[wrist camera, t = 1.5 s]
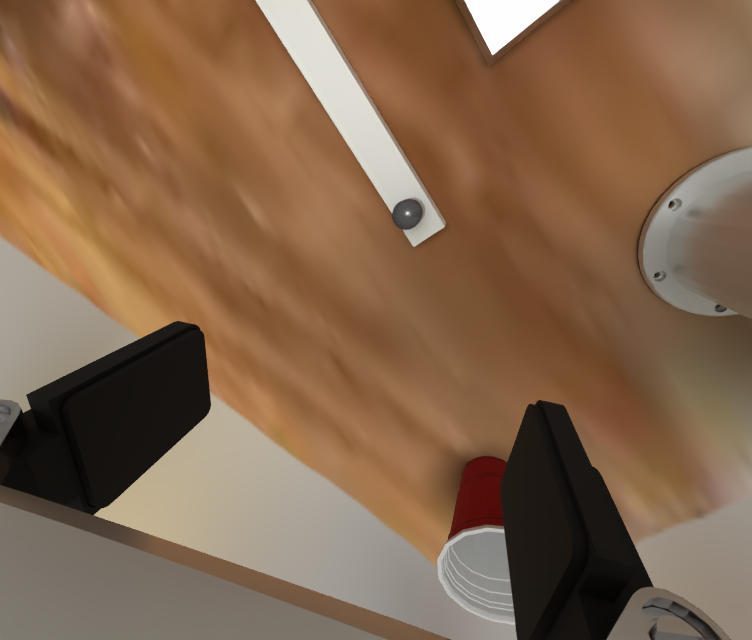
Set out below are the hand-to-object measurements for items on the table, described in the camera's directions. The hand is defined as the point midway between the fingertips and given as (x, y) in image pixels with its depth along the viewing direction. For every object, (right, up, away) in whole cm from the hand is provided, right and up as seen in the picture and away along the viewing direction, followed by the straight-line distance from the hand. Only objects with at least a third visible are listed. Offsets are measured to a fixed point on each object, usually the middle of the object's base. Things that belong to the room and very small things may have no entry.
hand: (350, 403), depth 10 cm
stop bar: (-2, +21, +19) cm, 28 cm away
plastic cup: (+14, -15, +30) cm, 37 cm away
